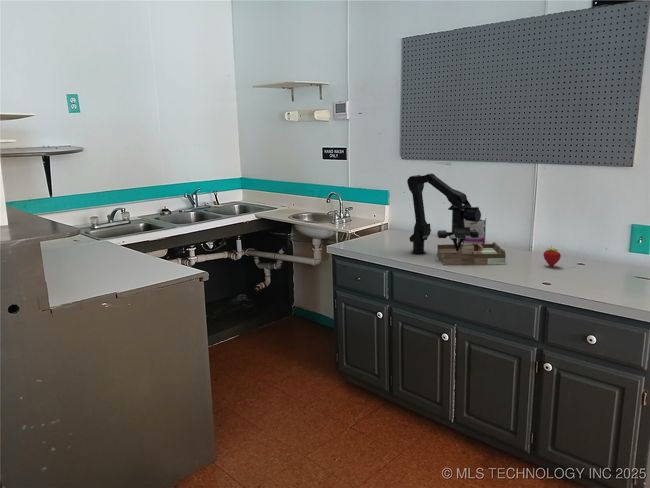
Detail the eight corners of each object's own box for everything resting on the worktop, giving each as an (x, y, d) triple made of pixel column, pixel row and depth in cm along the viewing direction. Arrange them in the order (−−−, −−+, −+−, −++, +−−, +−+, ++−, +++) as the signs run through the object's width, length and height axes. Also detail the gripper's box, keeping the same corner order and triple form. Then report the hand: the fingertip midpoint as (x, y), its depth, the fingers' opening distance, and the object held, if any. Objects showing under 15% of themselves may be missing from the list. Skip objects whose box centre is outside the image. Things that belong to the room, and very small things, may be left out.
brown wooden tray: (437, 254, 255) (437, 242, 254) (493, 253, 253) (494, 241, 252) (443, 265, 236) (444, 252, 234) (505, 264, 234) (505, 251, 232)
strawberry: (555, 269, 223) (556, 247, 221) (539, 266, 229) (541, 244, 227) (562, 267, 226) (564, 245, 224) (547, 263, 232) (548, 242, 230)
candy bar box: (485, 248, 263) (486, 218, 259) (484, 251, 258) (485, 219, 254) (463, 247, 267) (464, 217, 263) (461, 249, 262) (462, 218, 258)
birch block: (459, 251, 247) (460, 243, 246) (471, 251, 246) (471, 243, 245) (462, 254, 241) (462, 246, 240) (473, 254, 241) (474, 246, 240)
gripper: (440, 223, 233) (440, 255, 237) (482, 222, 232) (480, 255, 235) (437, 218, 244) (436, 250, 247) (476, 218, 243) (475, 249, 246)
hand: (457, 251), depth 244 cm, fingers closed
